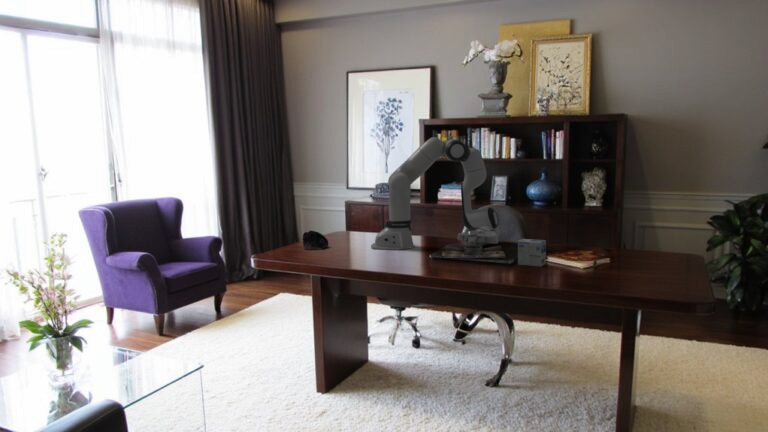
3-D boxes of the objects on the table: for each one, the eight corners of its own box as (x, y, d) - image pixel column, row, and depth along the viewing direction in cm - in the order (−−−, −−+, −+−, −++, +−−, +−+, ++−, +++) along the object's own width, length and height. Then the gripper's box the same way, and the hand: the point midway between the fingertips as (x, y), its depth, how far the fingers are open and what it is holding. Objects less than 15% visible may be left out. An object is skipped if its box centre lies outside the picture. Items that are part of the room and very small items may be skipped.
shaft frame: (442, 258, 260) (441, 247, 260) (442, 254, 270) (442, 243, 270) (505, 258, 257) (505, 247, 256) (503, 254, 266) (503, 243, 266)
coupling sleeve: (467, 251, 274) (467, 231, 273) (467, 250, 279) (467, 230, 277) (477, 252, 274) (477, 231, 272) (476, 250, 278) (476, 230, 277)
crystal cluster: (333, 248, 296) (333, 229, 296) (314, 250, 286) (314, 231, 286) (316, 247, 305) (316, 229, 304) (297, 249, 294) (297, 230, 294)
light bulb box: (546, 264, 244) (546, 239, 243) (541, 267, 239) (541, 242, 237) (522, 261, 250) (522, 238, 249) (517, 264, 245) (517, 240, 243)
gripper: (463, 228, 291) (452, 232, 280) (501, 231, 280) (490, 235, 269) (463, 240, 292) (452, 244, 281) (501, 243, 281) (490, 248, 270)
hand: (471, 240), depth 275 cm, fingers open, 5 cm apart
